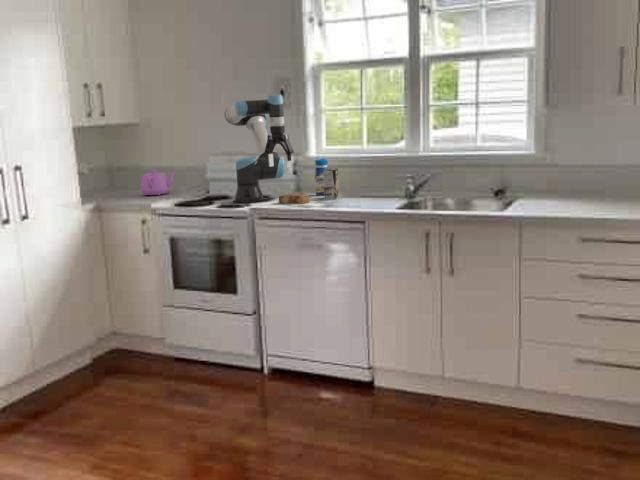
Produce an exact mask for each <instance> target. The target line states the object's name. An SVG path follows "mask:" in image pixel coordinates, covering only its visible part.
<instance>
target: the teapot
mask: <svg viewBox="0 0 640 480" xmlns="http://www.w3.org/2000/svg"><path fill="white" fill-rule="evenodd" d="M176 172H178V170H174V171H171V173H170V176H169V179H168V177H167V174H166V173H165V172H161V171H160V172H157V169H151V170H150V172H149V173H148V172H147V173H144V174H143V176H142V179H141V183H140V192H141V193H142V195H144V196H147V195H151V196H154V195H156V196H160V195H159V194H162V195H163V194H164V195H165V194H168V193H169V192H170V189H171V187H172V186H173V183H174V177H175V173H176Z"/></svg>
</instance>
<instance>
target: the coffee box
mask: <svg viewBox="0 0 640 480" xmlns="http://www.w3.org/2000/svg"><path fill="white" fill-rule="evenodd" d="M323 175H324V196H323V197H324V201H331V200H333V201H335V200H338V199H340V192H339V191H340V189H339V168H338V167H337V168H328V169H325V170H324V171H323Z"/></svg>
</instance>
